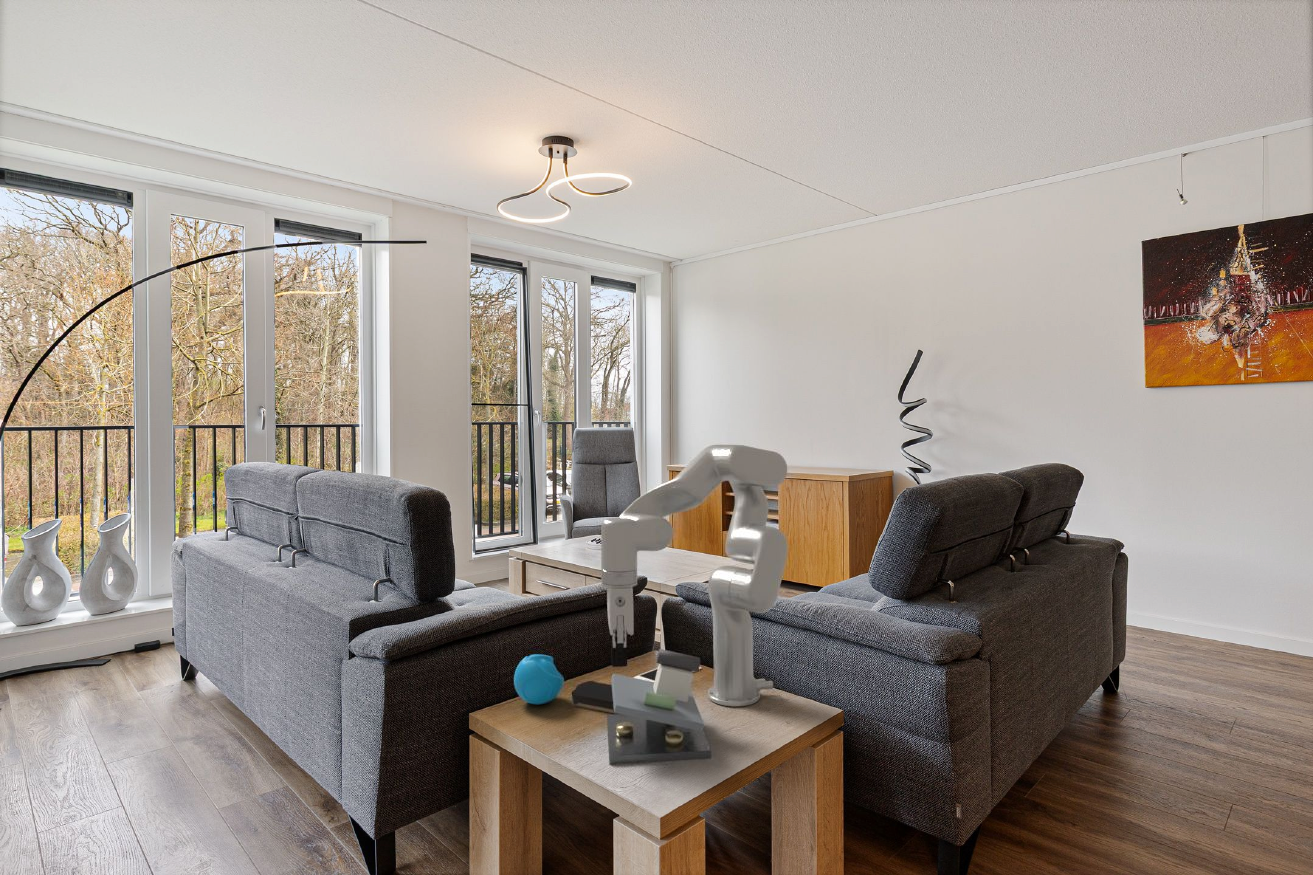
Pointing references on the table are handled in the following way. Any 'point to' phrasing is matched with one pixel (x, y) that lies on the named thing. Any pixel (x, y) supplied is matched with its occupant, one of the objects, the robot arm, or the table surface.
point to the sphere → (537, 679)
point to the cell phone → (650, 675)
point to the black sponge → (594, 696)
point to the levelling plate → (637, 709)
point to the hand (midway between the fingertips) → (619, 665)
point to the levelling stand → (652, 741)
